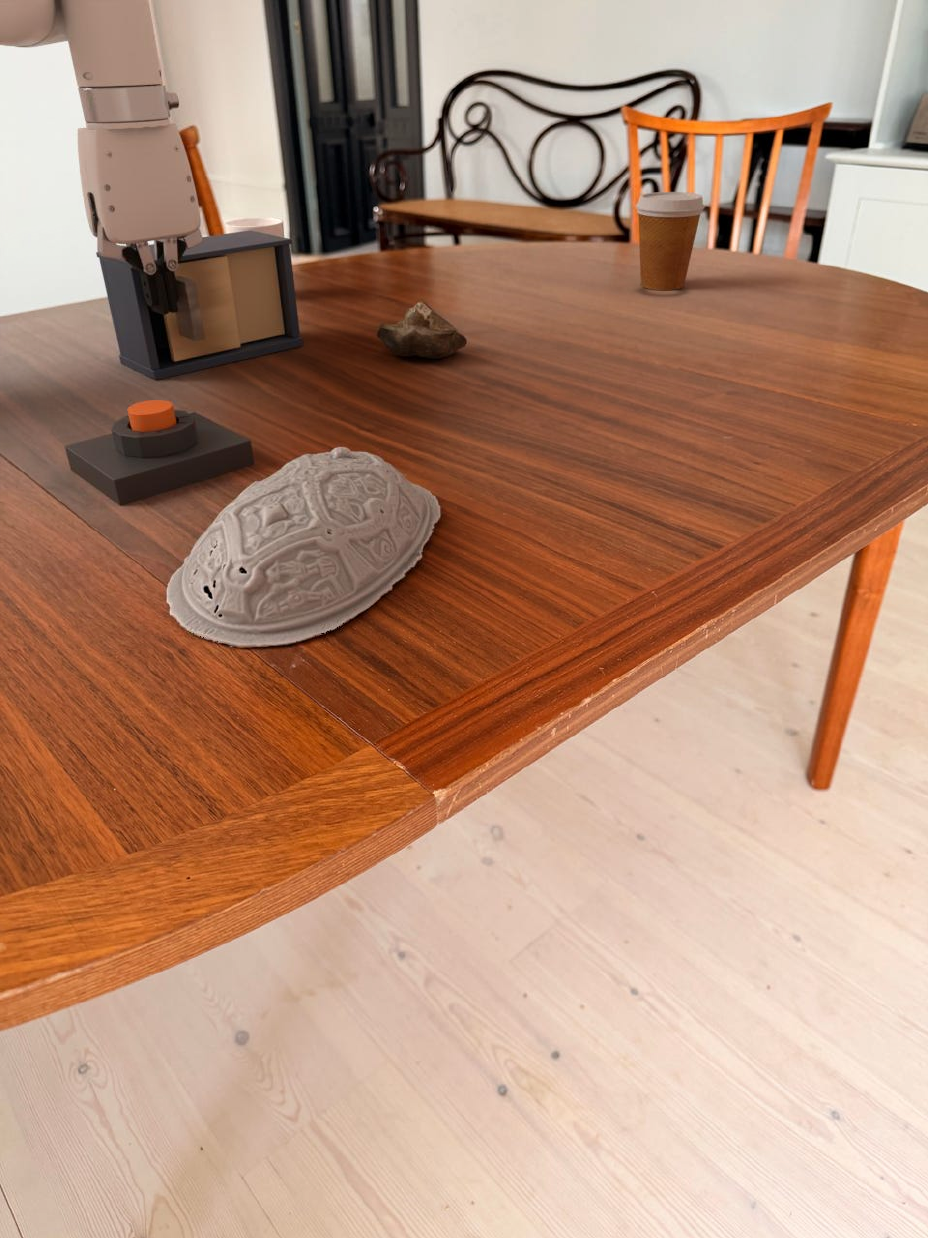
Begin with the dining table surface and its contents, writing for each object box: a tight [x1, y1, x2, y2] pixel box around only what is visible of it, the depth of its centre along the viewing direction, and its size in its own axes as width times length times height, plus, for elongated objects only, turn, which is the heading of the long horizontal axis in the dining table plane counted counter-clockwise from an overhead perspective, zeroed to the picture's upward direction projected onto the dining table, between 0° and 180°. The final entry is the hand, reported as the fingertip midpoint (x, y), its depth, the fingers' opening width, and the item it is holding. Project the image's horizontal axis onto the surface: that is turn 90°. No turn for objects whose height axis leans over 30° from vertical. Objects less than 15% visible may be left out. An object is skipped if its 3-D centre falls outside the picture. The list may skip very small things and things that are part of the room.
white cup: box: [225, 217, 285, 238], centre depth 128 cm, size 8×8×10 cm
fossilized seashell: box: [376, 300, 468, 360], centre depth 103 cm, size 8×7×10 cm
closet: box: [95, 230, 304, 381], centre depth 103 cm, size 19×9×12 cm, turn 132°
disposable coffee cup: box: [635, 191, 706, 291], centre depth 129 cm, size 10×10×12 cm
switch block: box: [64, 409, 255, 507], centre depth 76 cm, size 12×10×4 cm
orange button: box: [127, 399, 177, 432], centre depth 74 cm, size 4×4×2 cm
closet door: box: [163, 255, 241, 362], centre depth 98 cm, size 8×4×10 cm, turn 132°
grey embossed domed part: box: [166, 446, 442, 649], centre depth 62 cm, size 16×25×7 cm, turn 159°
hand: (164, 310), depth 94 cm, fingers closed
